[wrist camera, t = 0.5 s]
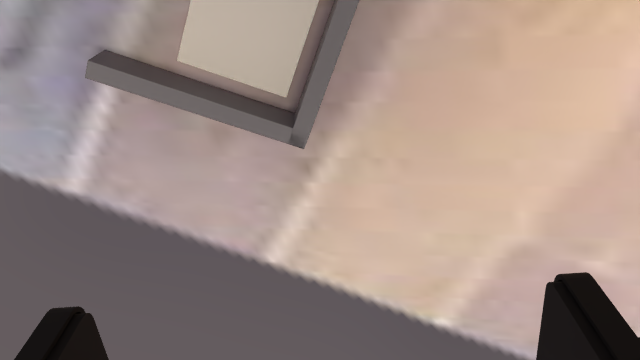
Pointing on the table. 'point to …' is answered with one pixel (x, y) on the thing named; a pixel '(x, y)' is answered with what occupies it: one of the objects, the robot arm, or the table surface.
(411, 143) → the table surface
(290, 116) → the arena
